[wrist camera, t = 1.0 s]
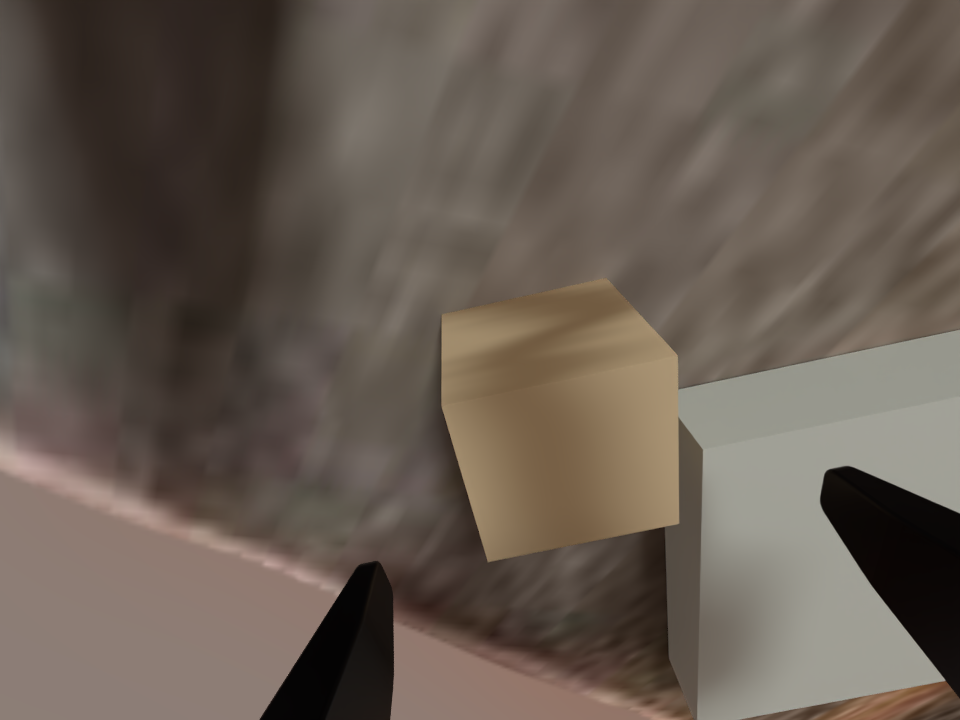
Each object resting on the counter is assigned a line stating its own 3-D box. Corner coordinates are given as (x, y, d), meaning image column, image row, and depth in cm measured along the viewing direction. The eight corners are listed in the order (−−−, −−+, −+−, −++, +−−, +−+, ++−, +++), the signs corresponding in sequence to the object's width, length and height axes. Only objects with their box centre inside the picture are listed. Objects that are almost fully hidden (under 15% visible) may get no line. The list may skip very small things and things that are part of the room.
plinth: (1146, 290, 16) (1287, 328, 13) (995, 595, 23) (1066, 658, 21) (660, 393, 16) (703, 449, 14) (668, 658, 24) (696, 727, 21)
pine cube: (605, 277, 14) (678, 355, 10) (616, 412, 17) (679, 523, 12) (441, 313, 14) (441, 405, 10) (476, 442, 17) (487, 562, 12)
